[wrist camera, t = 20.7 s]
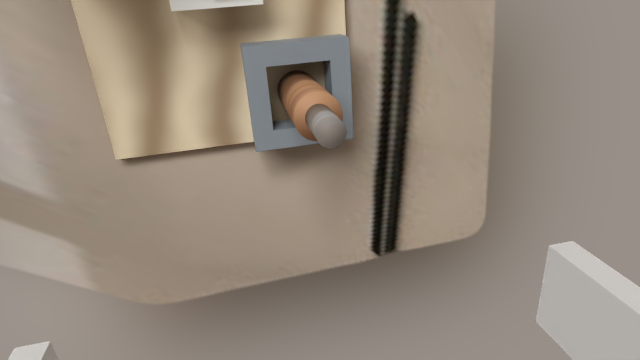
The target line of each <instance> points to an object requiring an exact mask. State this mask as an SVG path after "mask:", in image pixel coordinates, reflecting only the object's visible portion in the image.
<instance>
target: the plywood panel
mask: <svg viewBox="0 0 640 360" xmlns="http://www.w3.org/2000/svg"><path fill="white" fill-rule="evenodd" d="M71 2H72V6H73V9H74V13H75V16H76V20H77V24H78V27H79V31H80V34H81V38H82V41H83V45H84V48H85V52H86V55H87V59H88V62H89V66H90V70H91V73H92V77H93V80H94V84H95V87H96V91H97V94H98V98H99V101H100V105H101V108H102V112H103V116H104V119H105V123H106V126H107V130H108V133H109V137H110V140H111V144H112V147H113V151H114V154H115V158H116V160H118V159H126V158H133V157H141V156H149V155H156V154H164V153H171V152H179V151H187V150H194V149H202V148H209V147H217V146H225V145H232V144H240V143H247V142H254V139H253V132H252V124H251V117H250V110H249V103H248V96H247V89H246V82H245V74H244V67H243V60H242V53H241V46H240V43H250V42H261V41H272V40H282V39H293V38H303V37H314V36H325V35H335V34H342V35H345V36H346V26H345V2H344V0H263V4H259V5H247V6H234V7H221V8H209V9H196V10H183V11H171V7H170V2H169V0H71ZM294 70H300V71H304V72H306V73H308V74H309V75H310V76H311V77H312V78H313V79H315V80H316V81H317V82H318V83H319V84H320V85H321V86H322V87H323V88H325V81H324V65H323V61H318V62H309V63H299V64H289V65H280V66H270V67H266V72H267V81H268V89H269V98H270V106H271V115H272V121H279V120H287V119H291V118H290V116H289V115H288V113H287V111H286V109H285V108H284V106H283V104H282V102H281V100H280V98H279V96H278V84H279V82H280V80H281V78H282V77H283V76H284V75H285V74H286V73H288V72H290V71H294Z"/></svg>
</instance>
